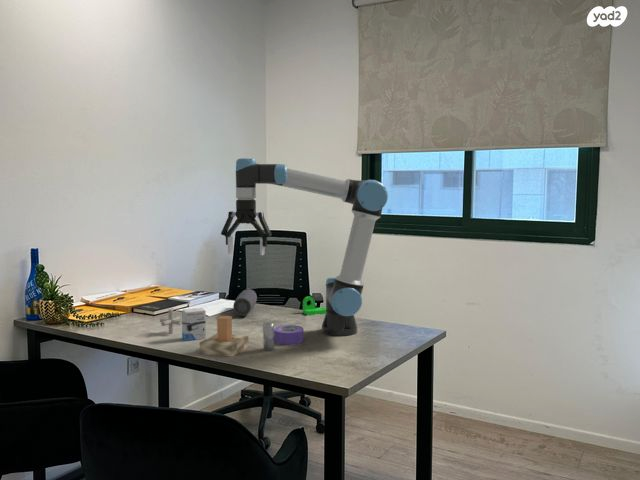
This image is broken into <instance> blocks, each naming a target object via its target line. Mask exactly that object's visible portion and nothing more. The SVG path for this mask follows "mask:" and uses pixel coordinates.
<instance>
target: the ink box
mask: <svg viewBox="0 0 640 480" xmlns="http://www.w3.org/2000/svg"><path fill="white" fill-rule="evenodd" d="M206 312H207V311H206V310H205V308H203V307H197V308H185V309H181V321H182V325H181V337H182V339H183V340H184V341H185V342H189V341H197V340H206V339H207V333H206V332H207V329H206V327H207V326H206V321H207V320H206V319H207V318H206V314H207V313H206Z"/></svg>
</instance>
